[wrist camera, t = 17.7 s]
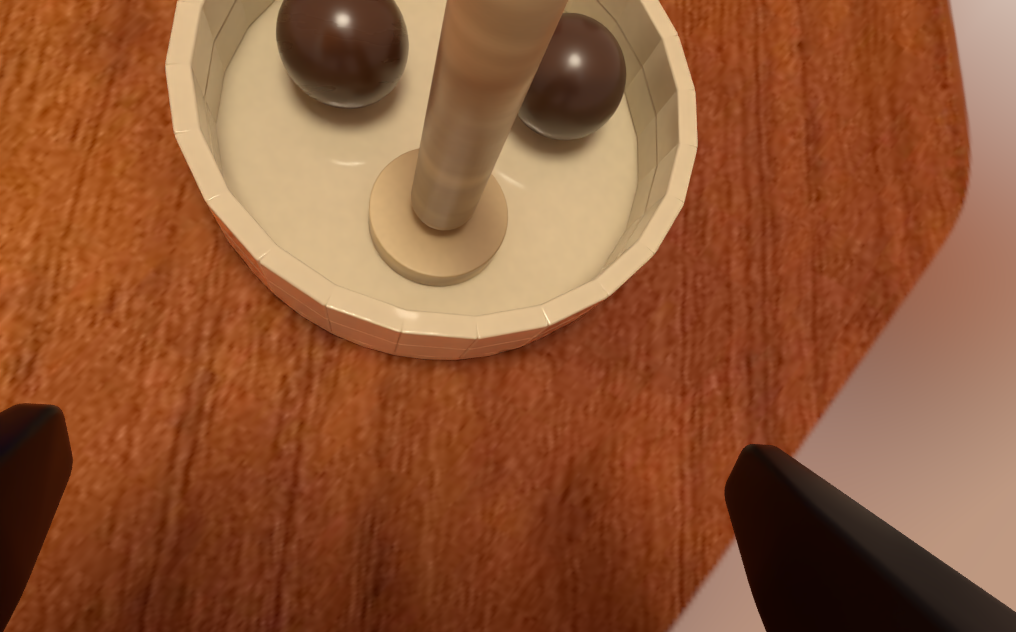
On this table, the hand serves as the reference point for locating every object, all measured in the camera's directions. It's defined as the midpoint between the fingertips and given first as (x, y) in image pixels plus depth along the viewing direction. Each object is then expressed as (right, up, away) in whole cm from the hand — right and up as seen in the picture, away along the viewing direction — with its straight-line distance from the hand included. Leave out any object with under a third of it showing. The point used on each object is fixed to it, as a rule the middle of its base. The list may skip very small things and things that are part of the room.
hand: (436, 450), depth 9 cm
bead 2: (+3, +9, +11) cm, 14 cm away
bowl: (-1, +7, +12) cm, 14 cm away
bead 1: (-4, +9, +9) cm, 14 cm away
